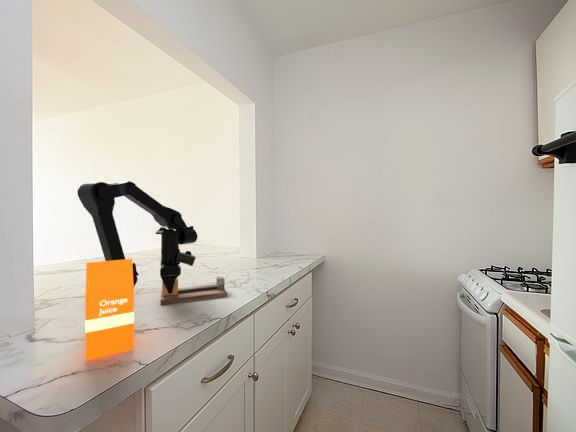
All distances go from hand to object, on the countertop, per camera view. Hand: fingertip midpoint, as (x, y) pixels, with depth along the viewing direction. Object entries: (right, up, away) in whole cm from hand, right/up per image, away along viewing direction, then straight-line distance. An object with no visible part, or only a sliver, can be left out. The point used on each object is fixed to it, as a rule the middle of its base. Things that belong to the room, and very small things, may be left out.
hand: (170, 289), depth 93 cm
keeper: (0, -1, 0) cm, 1 cm away
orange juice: (+2, -4, -33) cm, 34 cm away
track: (+7, -3, +3) cm, 9 cm away
